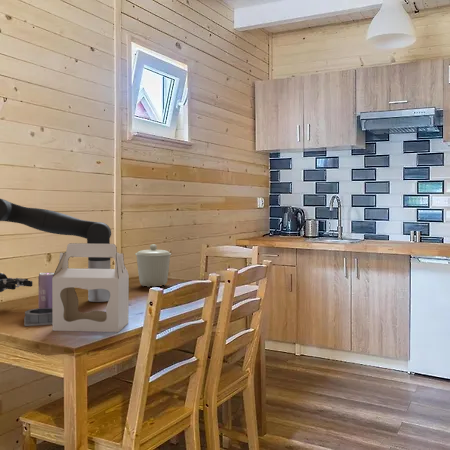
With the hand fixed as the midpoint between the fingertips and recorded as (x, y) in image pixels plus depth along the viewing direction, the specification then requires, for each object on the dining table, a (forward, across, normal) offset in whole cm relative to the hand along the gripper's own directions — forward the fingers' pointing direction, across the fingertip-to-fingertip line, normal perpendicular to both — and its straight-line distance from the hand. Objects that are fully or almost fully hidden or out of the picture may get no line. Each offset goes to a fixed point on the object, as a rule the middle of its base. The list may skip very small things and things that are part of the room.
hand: (23, 285), depth 201 cm
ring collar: (+20, -11, +10) cm, 25 cm away
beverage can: (+12, 0, +10) cm, 15 cm away
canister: (+12, +74, +9) cm, 76 cm away
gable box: (+40, -10, +10) cm, 43 cm away
